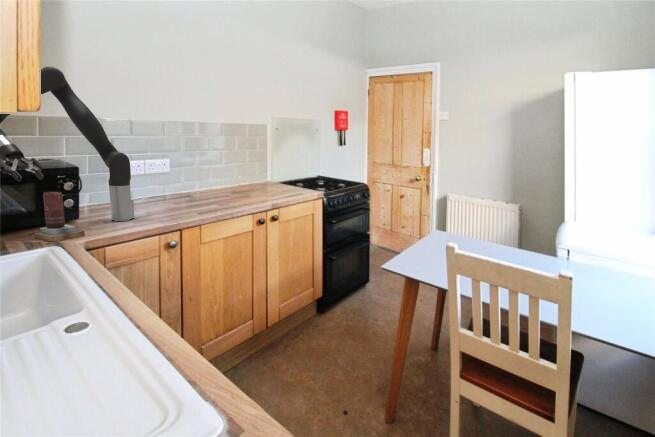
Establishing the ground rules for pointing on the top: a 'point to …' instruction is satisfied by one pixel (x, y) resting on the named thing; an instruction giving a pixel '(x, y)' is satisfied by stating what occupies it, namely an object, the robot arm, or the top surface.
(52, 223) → the can
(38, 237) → the stand
